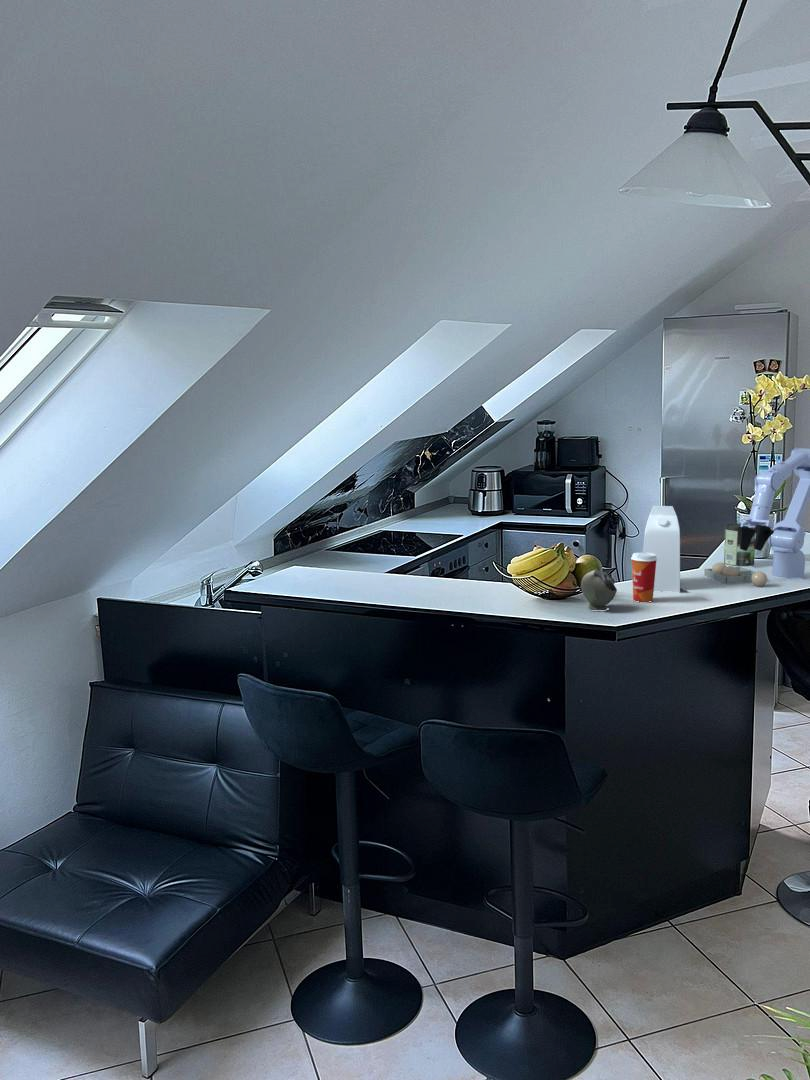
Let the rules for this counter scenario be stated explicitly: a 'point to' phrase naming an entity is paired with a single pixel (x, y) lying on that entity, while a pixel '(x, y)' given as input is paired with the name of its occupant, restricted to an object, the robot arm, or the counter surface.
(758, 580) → the egg
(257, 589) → the counter surface
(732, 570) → the egg
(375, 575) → the counter surface
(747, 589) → the counter surface
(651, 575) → the paper cup
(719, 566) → the egg
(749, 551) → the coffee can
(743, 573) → the carton
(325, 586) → the counter surface
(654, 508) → the milk
